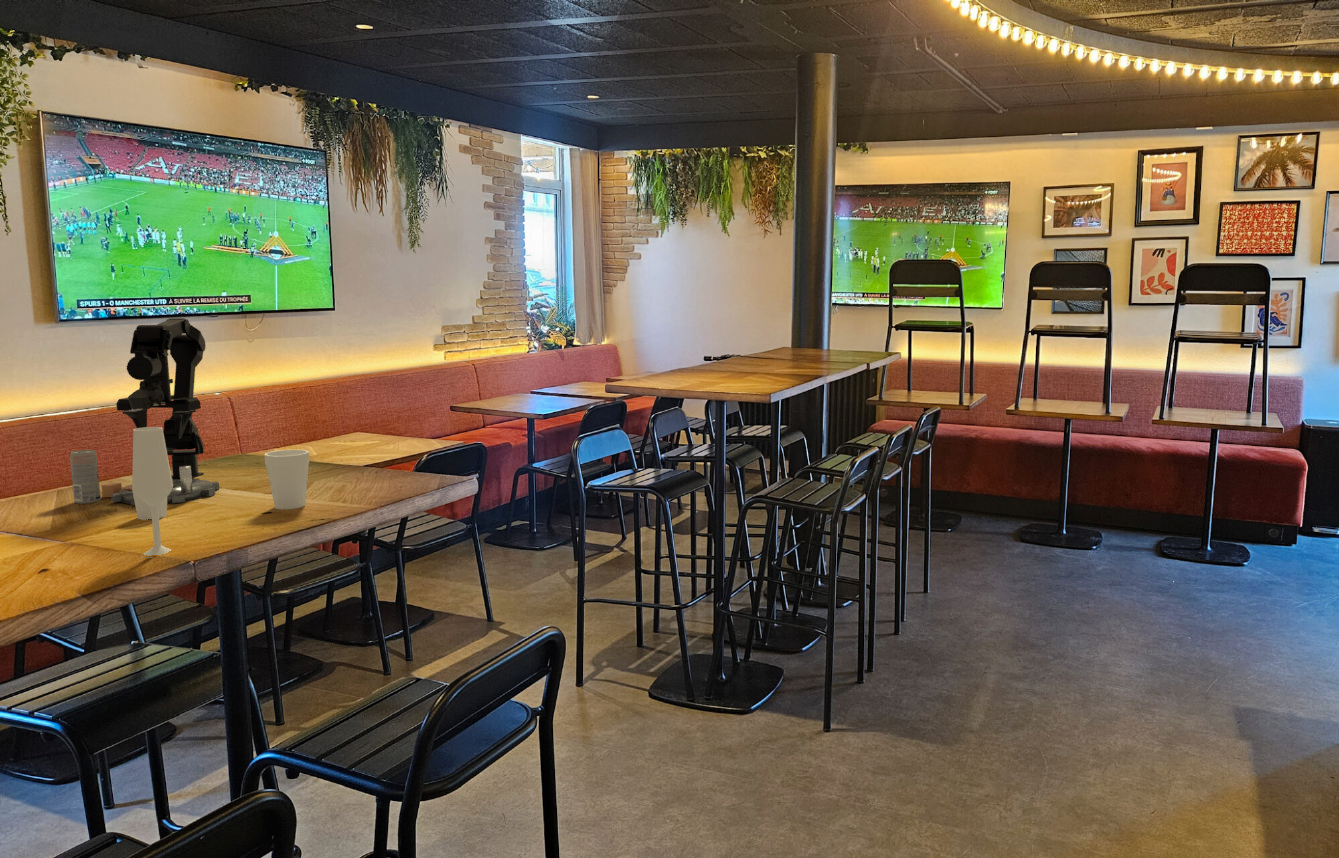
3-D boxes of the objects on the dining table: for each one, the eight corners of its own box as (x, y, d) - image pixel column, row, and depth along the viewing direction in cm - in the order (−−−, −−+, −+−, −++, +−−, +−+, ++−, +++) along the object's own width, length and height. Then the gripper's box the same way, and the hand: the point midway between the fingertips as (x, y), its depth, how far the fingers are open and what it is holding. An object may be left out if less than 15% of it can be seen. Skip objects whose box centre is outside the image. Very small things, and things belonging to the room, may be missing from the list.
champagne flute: (151, 550, 185) (140, 426, 181) (185, 550, 184) (175, 426, 181) (130, 560, 178) (119, 431, 175) (166, 560, 178) (155, 431, 174)
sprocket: (220, 482, 248) (217, 452, 247) (218, 500, 227) (216, 466, 226) (117, 490, 239) (115, 458, 237) (106, 509, 218) (103, 474, 217)
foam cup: (260, 509, 219) (257, 453, 217) (300, 503, 225) (296, 448, 224) (280, 516, 212) (276, 458, 210) (320, 509, 219) (316, 452, 217)
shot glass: (176, 515, 214) (174, 484, 213) (157, 522, 208) (154, 490, 207) (147, 514, 215) (145, 483, 214) (127, 521, 208) (124, 489, 207)
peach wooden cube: (110, 494, 236) (109, 482, 235) (122, 495, 236) (121, 483, 235) (102, 497, 233) (101, 485, 232) (114, 497, 233) (113, 485, 232)
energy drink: (97, 498, 232) (92, 448, 231) (103, 501, 228) (99, 451, 227) (71, 501, 229) (66, 451, 227) (77, 505, 225) (72, 454, 223)
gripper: (98, 379, 231) (104, 443, 233) (172, 379, 229) (177, 444, 232) (128, 374, 242) (134, 436, 244) (199, 374, 240) (204, 437, 242)
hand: (161, 438), depth 240 cm, fingers open, 9 cm apart
